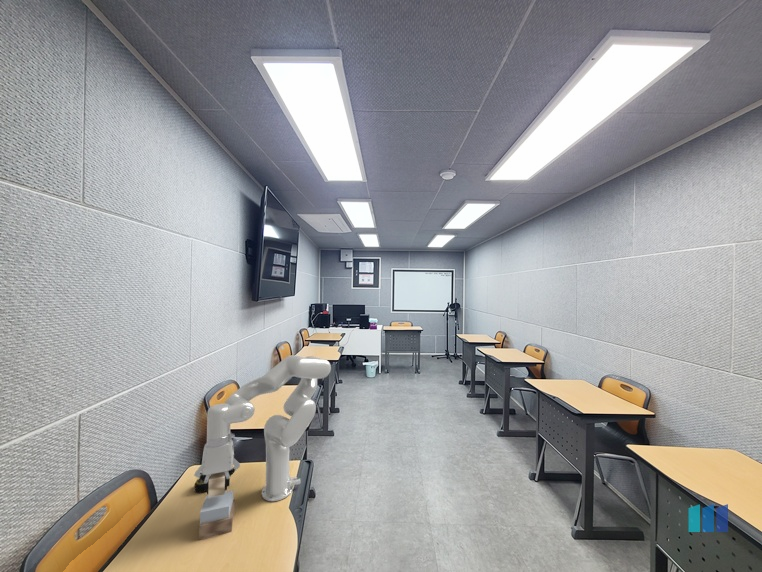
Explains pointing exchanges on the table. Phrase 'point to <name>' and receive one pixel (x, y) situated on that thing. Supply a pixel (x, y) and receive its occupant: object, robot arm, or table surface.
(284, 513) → the table surface
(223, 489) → the beech block
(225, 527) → the bottom block
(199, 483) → the tape measure
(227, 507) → the top block
